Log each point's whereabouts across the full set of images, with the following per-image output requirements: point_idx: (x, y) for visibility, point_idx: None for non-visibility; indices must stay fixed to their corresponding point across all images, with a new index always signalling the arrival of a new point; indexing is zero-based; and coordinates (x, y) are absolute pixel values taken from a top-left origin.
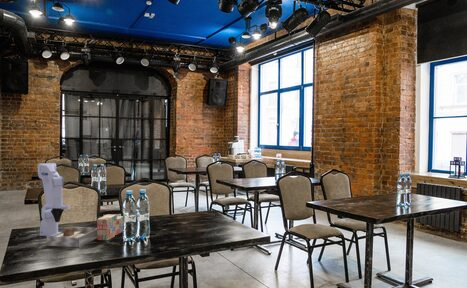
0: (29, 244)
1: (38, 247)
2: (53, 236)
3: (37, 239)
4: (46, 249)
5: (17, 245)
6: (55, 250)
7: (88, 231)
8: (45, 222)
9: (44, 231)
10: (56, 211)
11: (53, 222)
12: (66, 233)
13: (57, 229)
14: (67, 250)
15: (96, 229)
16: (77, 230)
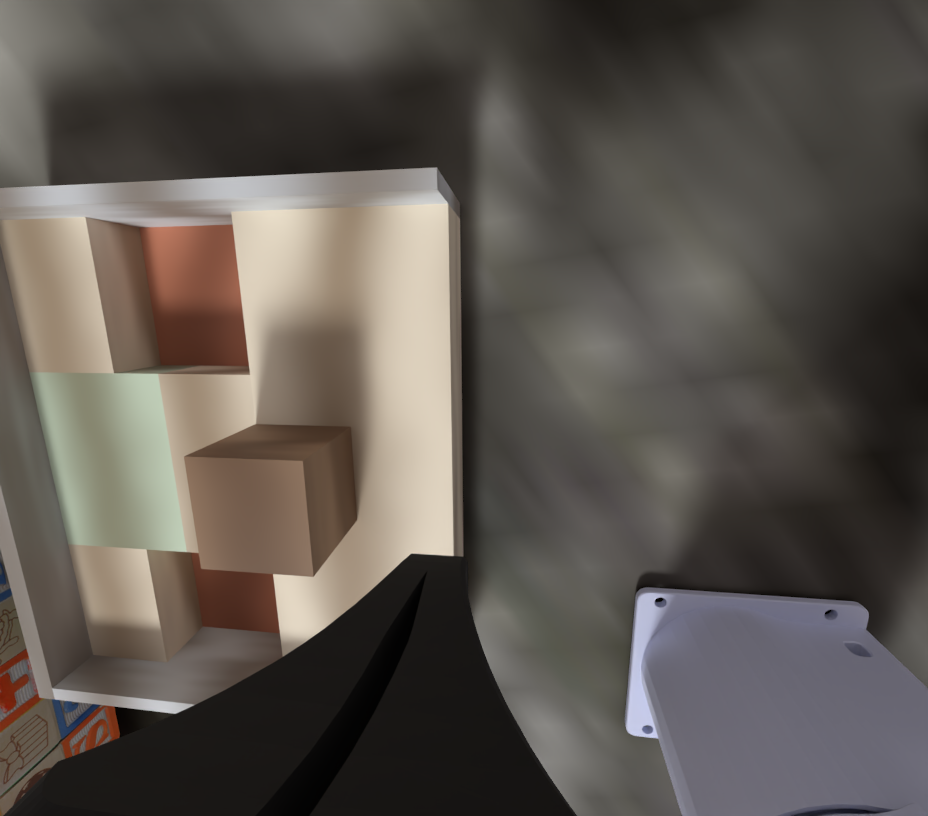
0: (746, 205)
1: (517, 96)
2: (317, 184)
3: (777, 448)
4: (348, 34)
5: (915, 117)
6: (208, 23)
7: (205, 663)
8: (903, 791)
9: (815, 653)
10: (122, 790)
11: (729, 798)
12: (284, 436)
13: (655, 726)
14: (76, 63)
15: (24, 634)
16: None
